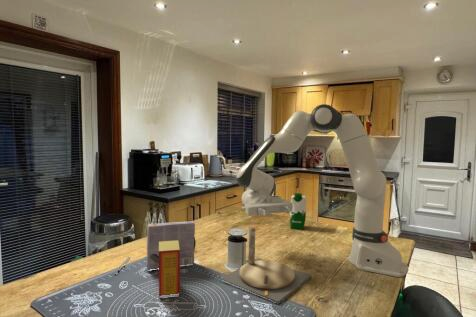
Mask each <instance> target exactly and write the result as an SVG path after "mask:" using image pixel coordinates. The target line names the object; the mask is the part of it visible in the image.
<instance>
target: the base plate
mask: <svg viewBox="0 0 476 317" xmlns="http://www.w3.org/2000/svg"><path fill="white" fill-rule="evenodd" d="M259 260H263V259H262V258H259V257H258V258H256V259H255V261H259ZM240 268H241V267H240ZM240 268H238V269H236V270H234V271H232V272H229V273H228V274H227V275H224V276H223V277H221V278H220V280H221V279H222V280H224V281H227V282H229V283H231V284H234V285H237V286H239V287H242V288H244V289H247V290H249V291H251V292H253V293H256V294H258V295H260V296H263V297H265V298H267V299H270V300H272V301H274V302H276V303H279V302H281V301H282V300H283V299H285V298H286V299H288V297H290V296H291V295H292V294H293V293H295V291H297V290H298V289H299V288H301V286H303V285H304V284H306V282H308V281H309V280H310V279H311V278H312V274H309V273H306V272H303V271H300V270H297V269H295V268H292V269H293V271H294V273H295V276H294V281H293V283H292V284H290V285H288V286H286V287H283V288H278V289H262V288H257V287H253V286H250V285H248V284H246V283H245V282H243V281H242V280H241V278H240ZM286 299H285V300H286ZM283 301H284V300H283ZM283 301H282V302H283ZM282 302H281V303H282Z"/></svg>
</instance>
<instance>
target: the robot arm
mask: <svg viewBox="0 0 476 317" xmlns="http://www.w3.org/2000/svg"><path fill="white" fill-rule="evenodd" d="M311 132H317V133H319V134H329V133H331V132H334V133H335V134H336V136H337V137H338V138H337V139H339V143H340V146H341V148H342V151H343V153H344V157H345V159H346V162H347V166H348V170H349V174H350V179H351V182H352V186H353V190H354V193H355V194H356V196H357V197H356V203H355V207H354V220H353V221H354V223H353V224H354V225H353V227H352V232H351V233H352V235H351V237H352V244H351V245H352V246H351V249H350V250H351V251H350V253H349V257H348V261H349V262H350V264H352V265H354V266H355V267H356V269H358V270H360V271H365V272H371V273H376V274H381V275H385V276H390V277H396V278H401V277H404V276H406V275H407V274H408V272H409V266H408V265H407V264H406V263H405V262H403V257H402V253H401V252H400V250H399V249H398V248H396V247H395V246H394V245H392V244H391V243H390V242H389V240H388V239H389V232H387V233H386V232H385V231H384V215H385V214H384V213H385V206H386V205H385V203H386V196H387V182H388V181H387V177H386V176H385V174H384V173H383V172H382V171H381V170H380V169H379V166H378V162H377V160H376V155H375V152H374V149H373V146H372V142H371V140H370V139H369V136H368V134H367V131H366V129H365V126H364V125H363V123H362V121H361V120H360V118H359V117H358V116H357V114H354V113H346V114H342V113H341V112H340V111H338V110H337V109H336V108H335V107H333V106H332V105H330V104H327V103H323V104H319V105H316V106H315V107H314V108H313V109H312V111H311V113H308V112H305V111H303V110H297V111H294V112H293V114H292V115H290V117H289V118H288V120H287V121H286V122H285V123H284V125H283V127H282V128H281V129H280V131H279V132H278V133H276V134H275V135H274V136H269V137H268V138H266V139H265V140H264V141H263V142H262V143H261V145H260V146H259V147H258V148H257V149H256V150H255V151H254V153H253V154H252V155H251V156H250V158H249V159H248V160H247V161H246V162H245V163H244V164H243V165H241V166H240V168H239V169H238V170H237V172H236V175H235V179H236V182H237V184H238V185H239V186H240V187H244V188H246V190H244V192H243V193H242V195H241V203H242V204H243V206H241V209H242V210H244V213H245V214H246V215H247V216H262V217H263V216H269V215H270V214H281V213H284V214H290V212H291V211H292V210H293V204H292V202H290V201H291V200H290V201H289V200H287V199H285V198H282V197H281V196H278V195H273V194H274V192H275V189H276V181H275V178H274V176H272V175H270V174H268V173H266V172H264V171H262V170H259V169H258V166H259V165H260V164H261V163H262V162H263V160H265V158H266V157H267V156H269V155H270V154H273V153H279V154H280V153H281V154H291V153H295V152H297V151H299V149H300V147H302V144H303V143H304V141H305V140H306V138H307V136H308V135H309V134H310V133H311Z"/></svg>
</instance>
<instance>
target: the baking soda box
mask: <svg viewBox="0 0 476 317" xmlns="http://www.w3.org/2000/svg"><path fill="white" fill-rule="evenodd" d="M180 272H181V267H180V248H179V242H178V240H173V241H159V270H158V296H161V295H170V294H178V293H180V294H181V291H180V290H181V289H180V288H181V287H180V286H181V285H180V283H181V274H180Z"/></svg>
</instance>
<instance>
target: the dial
mask: <svg viewBox="0 0 476 317" xmlns="http://www.w3.org/2000/svg"><path fill="white" fill-rule="evenodd" d="M255 258H256V227H253V226H252V227H249V228H248V259H247V260H248V262H246V263H245V264H243V265H242V266H241V267H240V278H241V280H242V281H243V282H245V283H246V284H248V285H250V286H253V287H257V288H262V289H278V288H283V287H286V286H288V285H290V284H292V283H293V281H294V276H295V273H294V271H293V269H294V268H292V267H291V266H290V265H287V264H285V263H283V262H280V261H275V260H268V259H267V260H266V259H262V260H259V261H255V260H256V259H255Z"/></svg>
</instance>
